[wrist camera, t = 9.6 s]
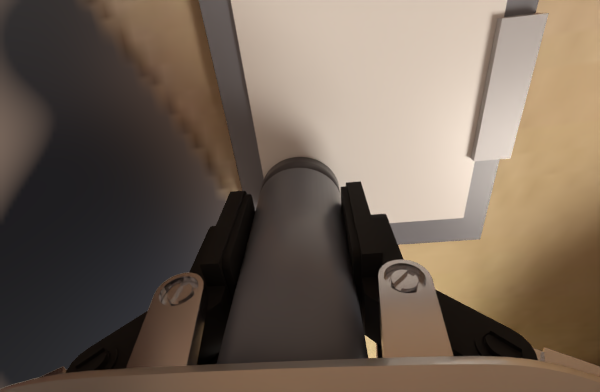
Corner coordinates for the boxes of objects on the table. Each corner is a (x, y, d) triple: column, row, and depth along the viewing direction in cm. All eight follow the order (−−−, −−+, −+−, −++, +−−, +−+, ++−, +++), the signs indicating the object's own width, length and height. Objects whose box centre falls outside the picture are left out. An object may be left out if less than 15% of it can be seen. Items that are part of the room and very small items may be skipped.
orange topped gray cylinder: (338, 150, 13) (417, 521, 4) (343, 221, 14) (404, 584, 5) (251, 159, 13) (118, 523, 4) (267, 228, 15) (204, 582, 6)
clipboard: (572, -179, 8) (605, -203, 7) (476, 231, 16) (487, 245, 15) (177, -117, 9) (162, -131, 8) (258, 246, 16) (255, 260, 15)
